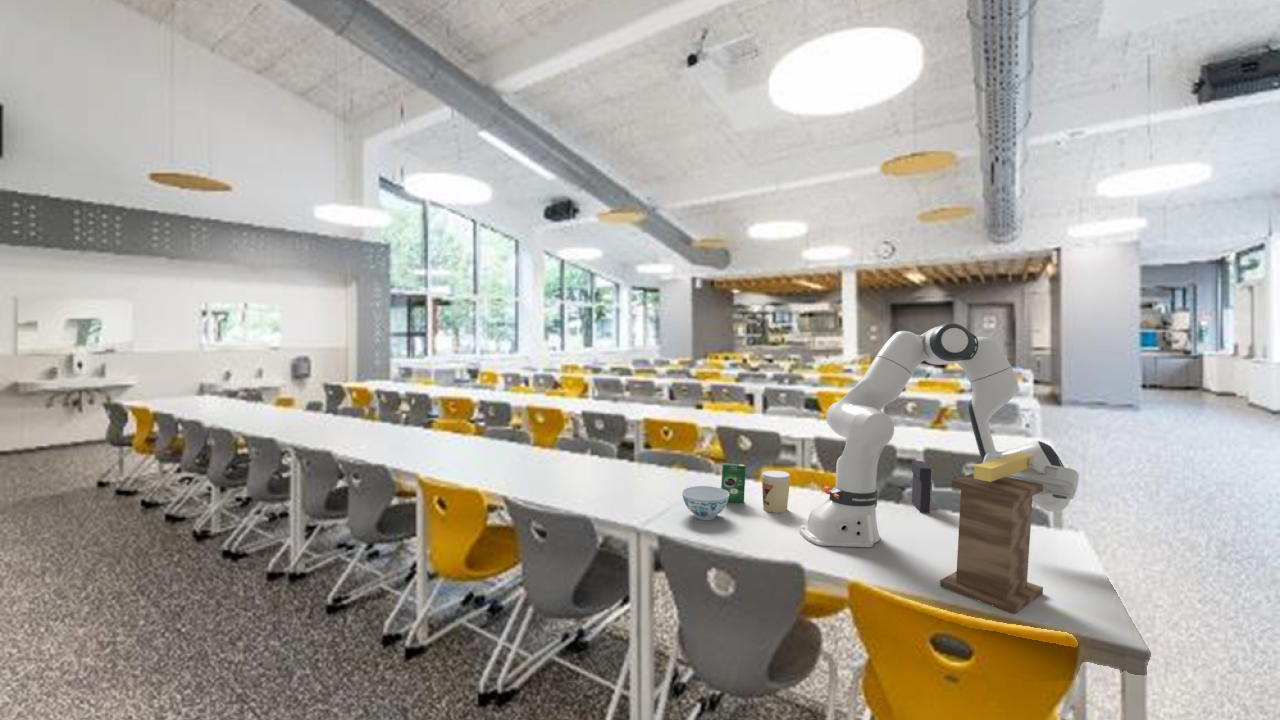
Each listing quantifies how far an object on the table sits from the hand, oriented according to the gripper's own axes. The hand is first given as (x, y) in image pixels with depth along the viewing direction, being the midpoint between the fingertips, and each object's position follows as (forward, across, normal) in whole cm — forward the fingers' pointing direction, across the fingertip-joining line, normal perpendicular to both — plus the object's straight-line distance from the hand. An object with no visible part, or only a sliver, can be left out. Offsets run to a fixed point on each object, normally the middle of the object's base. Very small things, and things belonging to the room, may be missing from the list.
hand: (1019, 459), depth 143 cm
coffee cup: (-8, -68, +30) cm, 75 cm away
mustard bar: (+6, 0, +6) cm, 8 cm away
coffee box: (-3, -82, +34) cm, 89 cm away
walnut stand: (-4, 0, +32) cm, 32 cm away
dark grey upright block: (-44, -41, +9) cm, 61 cm away
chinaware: (+13, -76, +43) cm, 88 cm away
